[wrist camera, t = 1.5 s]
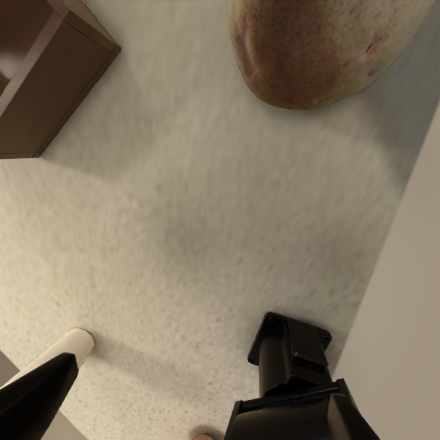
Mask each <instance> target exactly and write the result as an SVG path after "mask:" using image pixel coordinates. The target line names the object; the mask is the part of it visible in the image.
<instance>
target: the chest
mask: <svg viewBox="0 0 440 440" xmlns="http://www.w3.org/2000/svg"><path fill="white" fill-rule="evenodd" d="M120 50H121V48H120V46H119V45H118V44H117V43H116V41H115V40H114V39H113V38H112V37H111V35H110V34H109V33H108V32H107V31H106V29H105V28H104V27H103V26H102V24H101V23H100V22H99V21H98V20H97V18H96V17H95V16H94V15H93V14H92V12H91V11H90V10H89V9H88V7H87V6H86V5H85V4H84V3H83V1H82V0H0V159H17V158H38V157H39V156H40V155H41V153H42V152H43V151H44V150H45V148H46V147H47V146H48V144H49V143H50V142H51V140H52V139H53V138H54V136H55V135H56V134H57V133H58V131H59V130H60V129H61V127H62V126H63V125H64V123H65V122H66V121H67V120H68V118H69V117H70V116H71V114H72V113H73V112H74V110H75V109H76V108H77V106H78V105H79V104H80V103H81V101H82V100H83V99H84V97H85V96H86V95H87V93H88V92H89V91H90V89H91V88H92V87H93V86H94V84H95V83H96V82H97V80H98V79H99V78H100V76H101V75H102V74H103V72H104V71H105V70H106V69H107V67H108V66H109V65H110V63H111V62H112V61H113V59H114V58H115V57H116V56H117V54H118V53H119V52H120Z"/></svg>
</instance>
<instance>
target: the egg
mask: <svg viewBox="0 0 440 440" xmlns="http://www.w3.org/2000/svg"><path fill="white" fill-rule="evenodd" d="M192 440H213V438H211V437H210V436H208V435H198V436H196V437H195V438H193V439H192Z"/></svg>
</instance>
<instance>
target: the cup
mask: <svg viewBox="0 0 440 440" xmlns="http://www.w3.org/2000/svg"><path fill="white" fill-rule="evenodd" d="M93 347H94V339H93V337H92V336H91V335H90V334H89V333H88V332H87V331H85V330H83V329H79V328H75V329H72V330H70V331H69V332H68V333H67V334H65V335H64V336H63V337H62V338H61V339H59V340H58V341H57V342H55V343H54V344H53V345H52V346H51V347H49V348H48V349H47V350H46V351H45V352H43V353H42V354H41V355H40V356H38V357H37V358H36V359H35V360H34V361H32V362H31V363H30V364H29V365H27V366H26V367H25V368H24V369H23V370H21V371H20V372H19V373H18V374H17V375H15V376H14V377H13V378H12V379H11V380H9V381H8V382H7V383H6V384H4V385H3V386H2V387H1V388H0V389H2V388H3V387H5V386H7V385H8V384H10V383H12V382H13V381H15V380H17V379H18V378H20V377H22V376H24V375H25V374H27V373H29V372H30V371H32V370H34V369H35V368H37V367H39V366H40V365H42V364H44V363H46V362H47V361H49V360H51V359H52V358H54V357H56V356H57V355H59V354H61V353H63V352H68V353H74V354H75V356H76V360H77V364H78V369H80V367H81V366H82V364H83V363H84V361H85V359H86V358H87V356H88V355H89V353H90V352H91V350H92V349H93Z"/></svg>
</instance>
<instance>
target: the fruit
mask: <svg viewBox="0 0 440 440" xmlns="http://www.w3.org/2000/svg"><path fill="white" fill-rule="evenodd" d="M435 1H436V0H228V10H227V14H228V24H229V32H230V37H231V41H232V45H233V49H234V52H235V56H236V60H237V63H238V67H239V69H240V71H241V73H242V76H243V78H244V80H245V82H246V83H247V85H248V87H249V88H250V90H251V91H252V92H253V93H254V94H255V95H256V96H257V97H258V98H259V99H261V100H262V101H264V102H266V103H268V104H270V105H273V106H277V107H280V108H285V109H290V110H304V109H311V108H317V107H321V106H325V105H328V104H331V103H334V102H336V101H339V100H342V99H344V98H346V97H349V96H351V95H353V94H355V93H357V92H359V91H360V90H362V89H364V88H365V87H366V86H368V85H369V84H371V83H372V82H374V81H375V80H376V79H377V78H379V77H380V76H381V75H382V74H383V73H384V72H385V71H387V70H388V69H389V68H390V66H391V65H392V64H393V63H394V62H395V61H396V60H397V59H398V58H399V56H400V55H401V54H402V52H403V51H404V50H405V48H406V47H407V45H408V44H409V43H410V41H411V40H412V38H413V37H414V35H415V34H416V32H417V31H418V29H419V27H420V26H421V24H422V23H423V21H424V19H425V18H426V16H427V15H428V13H429V11H430V10H431V8H432V6H433V4H434V3H435Z"/></svg>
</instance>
